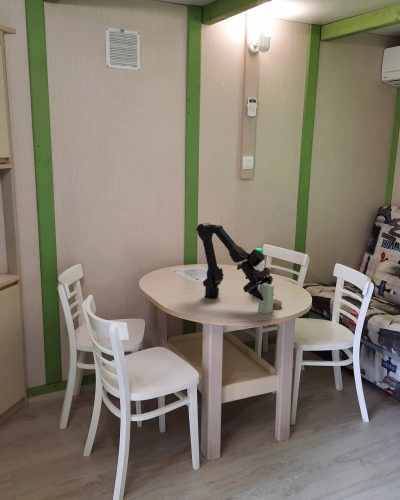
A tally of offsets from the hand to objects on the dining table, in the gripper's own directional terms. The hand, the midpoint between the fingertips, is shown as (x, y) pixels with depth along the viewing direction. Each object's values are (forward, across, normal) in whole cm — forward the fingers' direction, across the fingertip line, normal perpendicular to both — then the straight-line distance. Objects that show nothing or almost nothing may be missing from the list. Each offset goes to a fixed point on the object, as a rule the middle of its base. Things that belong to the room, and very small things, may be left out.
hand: (268, 298), depth 228 cm
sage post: (+4, 0, +6) cm, 7 cm away
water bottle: (-10, +22, +20) cm, 31 cm away
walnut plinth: (+3, +9, +6) cm, 12 cm away
